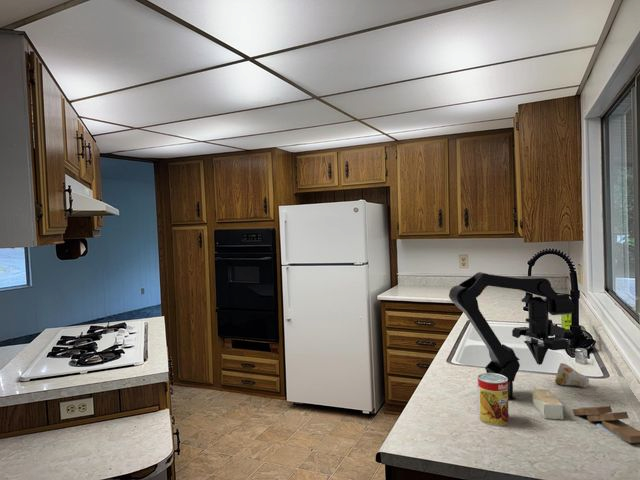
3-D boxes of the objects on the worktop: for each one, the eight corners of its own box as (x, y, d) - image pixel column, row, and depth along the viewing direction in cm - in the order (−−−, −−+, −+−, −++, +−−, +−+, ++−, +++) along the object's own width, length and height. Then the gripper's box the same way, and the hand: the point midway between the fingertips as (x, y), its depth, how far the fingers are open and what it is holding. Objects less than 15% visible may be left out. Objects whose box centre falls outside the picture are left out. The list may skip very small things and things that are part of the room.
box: (550, 389, 131) (564, 404, 120) (550, 403, 132) (564, 420, 121) (531, 389, 132) (544, 404, 121) (531, 403, 132) (544, 419, 121)
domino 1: (587, 413, 124) (612, 412, 116) (574, 415, 123) (599, 414, 115) (585, 407, 125) (610, 405, 117) (572, 409, 124) (596, 407, 116)
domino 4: (617, 425, 115) (646, 441, 106) (602, 426, 115) (630, 443, 106) (617, 419, 115) (646, 434, 106) (602, 420, 115) (630, 436, 106)
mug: (592, 392, 139) (575, 365, 140) (562, 399, 146) (545, 373, 146) (593, 379, 145) (577, 354, 146) (564, 386, 151) (548, 362, 152)
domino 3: (609, 427, 117) (642, 443, 109) (596, 430, 116) (629, 446, 108) (609, 421, 117) (642, 436, 109) (596, 424, 116) (629, 439, 107)
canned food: (509, 427, 118) (508, 383, 117) (478, 423, 120) (477, 381, 120) (507, 415, 125) (506, 374, 124) (478, 412, 128) (477, 371, 127)
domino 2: (601, 420, 120) (628, 418, 112) (588, 421, 119) (614, 419, 111) (599, 413, 120) (626, 411, 112) (586, 415, 120) (612, 413, 112)
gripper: (583, 319, 131) (584, 370, 132) (538, 308, 149) (539, 353, 150) (552, 323, 129) (553, 375, 129) (510, 311, 147) (511, 357, 147)
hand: (539, 364), depth 139 cm, fingers closed
